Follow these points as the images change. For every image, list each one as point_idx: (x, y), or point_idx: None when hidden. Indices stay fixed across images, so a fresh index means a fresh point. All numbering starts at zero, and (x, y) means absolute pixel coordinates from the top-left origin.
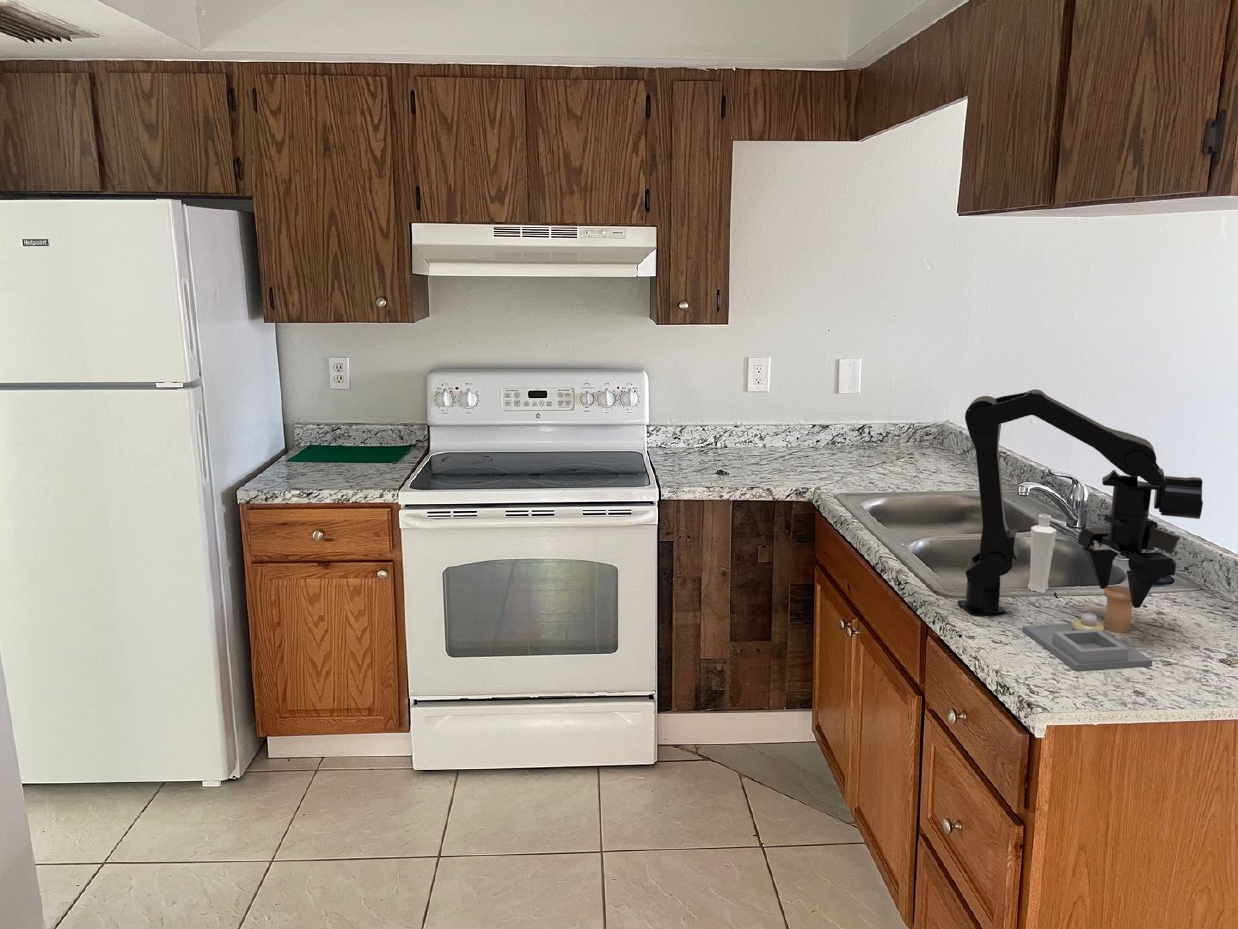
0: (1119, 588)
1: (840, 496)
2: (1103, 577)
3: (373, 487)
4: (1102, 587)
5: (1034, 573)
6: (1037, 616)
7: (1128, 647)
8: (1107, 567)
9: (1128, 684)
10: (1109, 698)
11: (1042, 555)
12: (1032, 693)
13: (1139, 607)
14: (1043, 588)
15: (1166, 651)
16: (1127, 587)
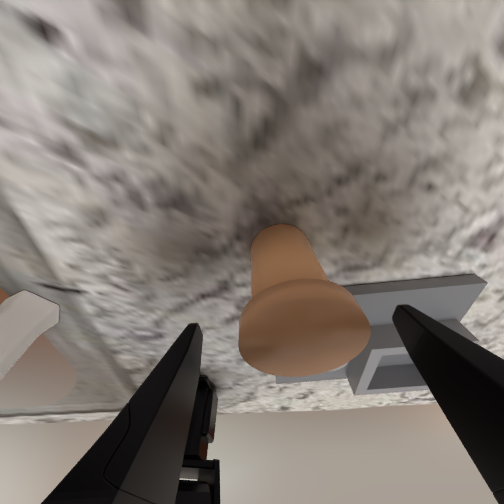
0: (273, 339)
1: None
2: (188, 381)
3: None
4: (201, 338)
5: (14, 362)
6: (210, 347)
7: (414, 296)
8: (159, 436)
9: (492, 329)
10: (500, 357)
11: None
12: (435, 399)
13: (406, 305)
14: (47, 314)
15: (440, 204)
16: (264, 312)
